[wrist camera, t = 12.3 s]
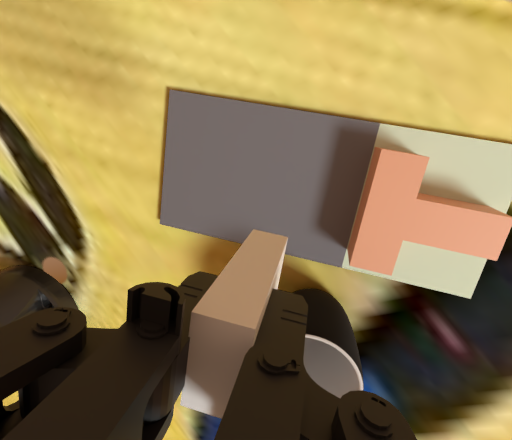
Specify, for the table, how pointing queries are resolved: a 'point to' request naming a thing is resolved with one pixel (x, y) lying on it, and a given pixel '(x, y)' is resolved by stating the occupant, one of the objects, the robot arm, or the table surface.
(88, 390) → the robot arm
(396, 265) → the mat
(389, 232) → the t block
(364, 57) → the table surface
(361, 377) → the mug
